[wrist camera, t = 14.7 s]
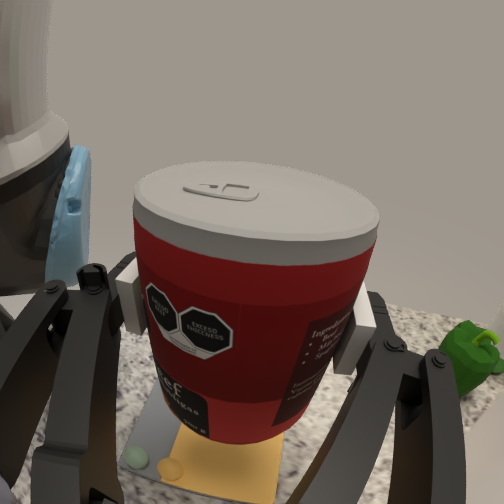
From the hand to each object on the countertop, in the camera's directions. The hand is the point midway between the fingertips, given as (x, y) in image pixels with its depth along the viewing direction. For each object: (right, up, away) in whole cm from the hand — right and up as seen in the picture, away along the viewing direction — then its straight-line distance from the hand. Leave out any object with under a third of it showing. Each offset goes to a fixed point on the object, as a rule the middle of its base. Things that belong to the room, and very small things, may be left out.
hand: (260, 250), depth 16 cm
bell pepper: (+25, -17, +12) cm, 32 cm away
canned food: (-1, -8, -1) cm, 8 cm away
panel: (-4, -15, +9) cm, 18 cm away
